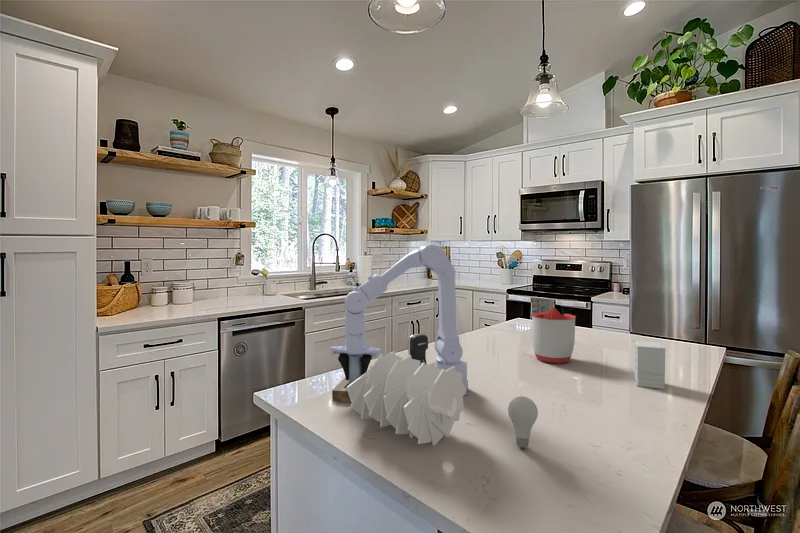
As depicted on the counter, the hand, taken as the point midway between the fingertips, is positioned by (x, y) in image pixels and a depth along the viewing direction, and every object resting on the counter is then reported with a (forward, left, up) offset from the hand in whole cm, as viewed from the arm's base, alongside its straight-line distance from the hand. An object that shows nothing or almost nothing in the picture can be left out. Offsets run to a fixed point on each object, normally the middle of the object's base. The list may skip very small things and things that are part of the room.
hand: (355, 379), depth 117 cm
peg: (0, 0, -3) cm, 3 cm away
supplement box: (-87, -25, -5) cm, 91 cm away
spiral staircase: (-19, +19, -5) cm, 27 cm away
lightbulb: (-44, +23, -5) cm, 50 cm away
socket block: (0, 0, -5) cm, 5 cm away
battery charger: (-14, -31, -5) cm, 34 cm away
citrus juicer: (-63, -49, -5) cm, 80 cm away
